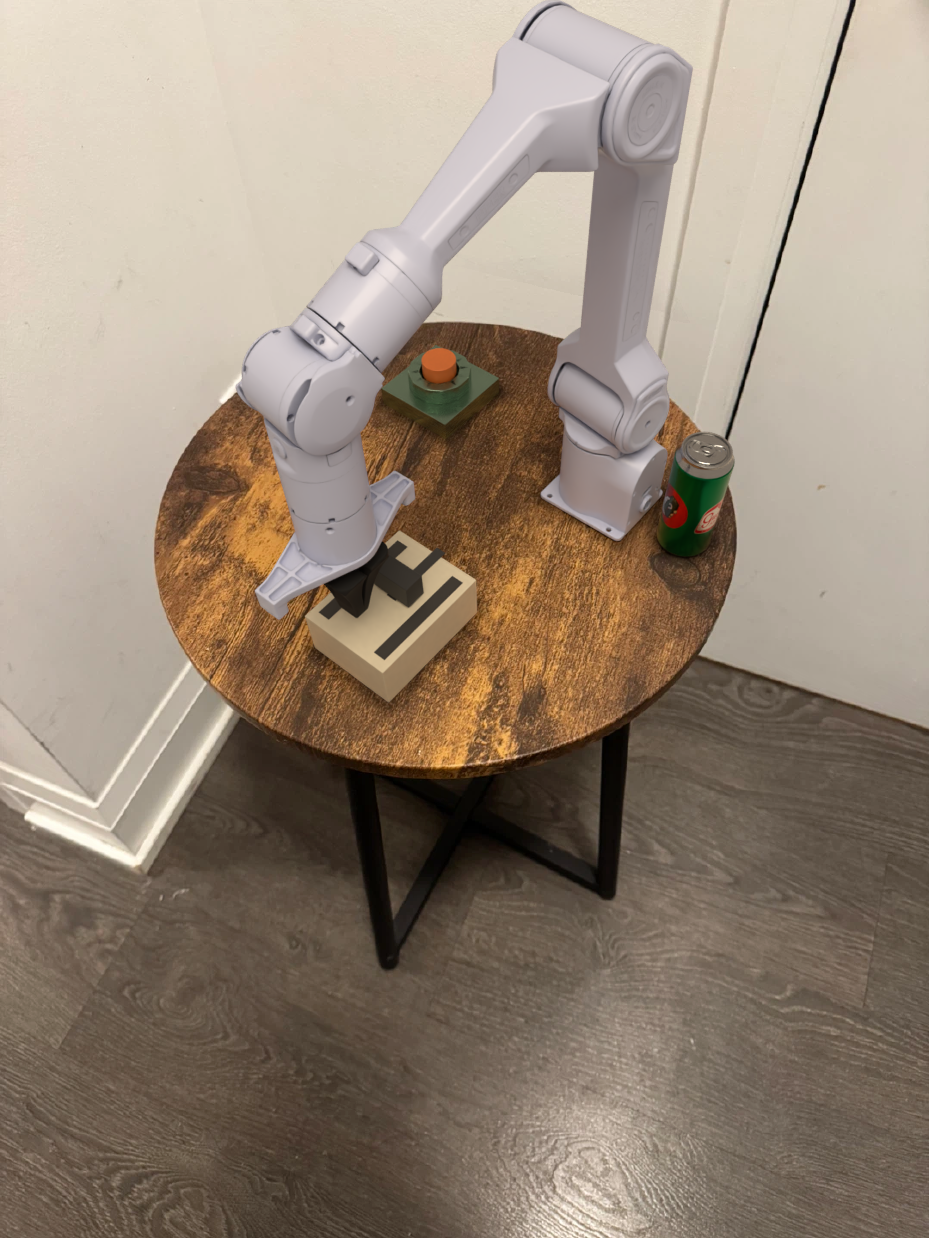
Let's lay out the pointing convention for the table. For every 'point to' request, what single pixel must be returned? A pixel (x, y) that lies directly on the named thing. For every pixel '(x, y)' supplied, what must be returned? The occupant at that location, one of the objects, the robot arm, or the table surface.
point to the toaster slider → (399, 581)
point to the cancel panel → (441, 395)
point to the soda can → (695, 493)
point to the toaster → (397, 622)
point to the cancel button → (439, 365)
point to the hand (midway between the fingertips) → (353, 606)
